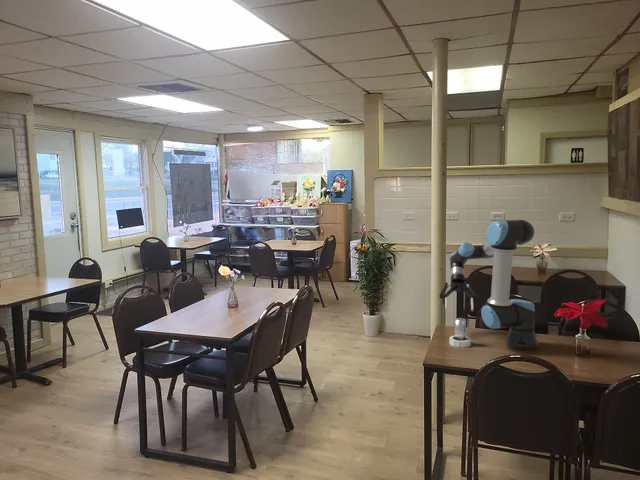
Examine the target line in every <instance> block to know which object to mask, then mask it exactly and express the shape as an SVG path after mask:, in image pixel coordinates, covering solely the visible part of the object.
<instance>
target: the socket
mask: <svg viewBox="0 0 640 480" xmlns="http://www.w3.org/2000/svg"><path fill="white" fill-rule="evenodd" d="M449 345H450V346H452V347H455V348H469V347H471V346H472V338H471V337H469V336H468V335H466V340H465V341H458V340H455V335H451V336H449Z"/></svg>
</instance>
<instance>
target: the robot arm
mask: <svg viewBox="0 0 640 480" xmlns="http://www.w3.org/2000/svg"><path fill="white" fill-rule="evenodd" d="M534 237H535V228H534V226H533V225H532V223H530V222H529V221H527V220H524V219H511V220H510V219H509V220H508V219H506V220H503V219H502V220H496V221H493V222H492V223H491V224H489V226H488V228H487V230H486V239H487V242H486V243H484V244H479V245H478V244H477V245H473V244H472V243H470V242H463V243H462V244H461V245H460V246H459V247H458V249H457V250H456V251H453V252H452V253H451V254H450V255H449V256H450V257H449V265H450V268H449V269H450V283H448V282H445V284H444V287H443V289H442V290H441V292H440V293H439V300H440V299H442V304H443V305H444V308H445V309H444V310H445V311H447V310H448V309H447V308H448V307H447V306H448V304H447V303H448V302H447V299H448V297H449V296H450V295H451V294H452V293H454V292H460V293H461V292H463V293H464V294H465V295H466V296H467V297H469V299H470V306H471V307H470V308H471V312H474V306H475V305H476V300H478V299H479V295H478V294H477V292H476V291H475V289H474V288H473V286H472V283H471V282H469V283H466V280H465V279H466V277H465V276H466V275H465V264H466V263H467V261H469V260H477V259H478V260H479V259H491V258H493V261H492V262H493V263H492V273H491V274H492V277H491V288H490V297H489V298H488V299H487V300H486V301H487V302H486V305H485V304H484V305H483V306H482V308H481V310H480V311H481V312H480V313H481V318H482V321H483V323H484V324H485V326H487V327H488V328H489V329H496V330H497V329H503V328H505V329H506V328H509V330H508V333H507V335H506V338H505V345H506V346H507V347H510V348H512V349H517V350H525V351H527V350H530V351H531V350H535V349H537V348H538V347H539V346H538V345H539V343H538V340H537V337H536V336H537V335H536V332H535V317H536V308H535V304H534V303H533V302H532V301H528V300H525V299H517V298H513V299H512V298H511V299H510V294H511V293H510V292H511V283H512V282H511V279H512V269H513V268H512V267H513V266H512V265H513V257H514V256H513V255H514V252H515V251H516V250H517V247H518V246H521V245H525V244H527V243H529V242H531V241H532V240H533V238H534ZM449 287H450V288H449ZM448 288H449V289H448ZM467 288H468V289H467ZM447 290H448V291H447ZM446 291H447V292H446Z"/></svg>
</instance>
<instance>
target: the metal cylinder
mask: <svg viewBox="0 0 640 480" xmlns="http://www.w3.org/2000/svg"><path fill="white" fill-rule="evenodd" d="M454 336H455V340H458V341H465V340H466V336H467V319H466V318H463V317H455V318H454Z"/></svg>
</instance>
